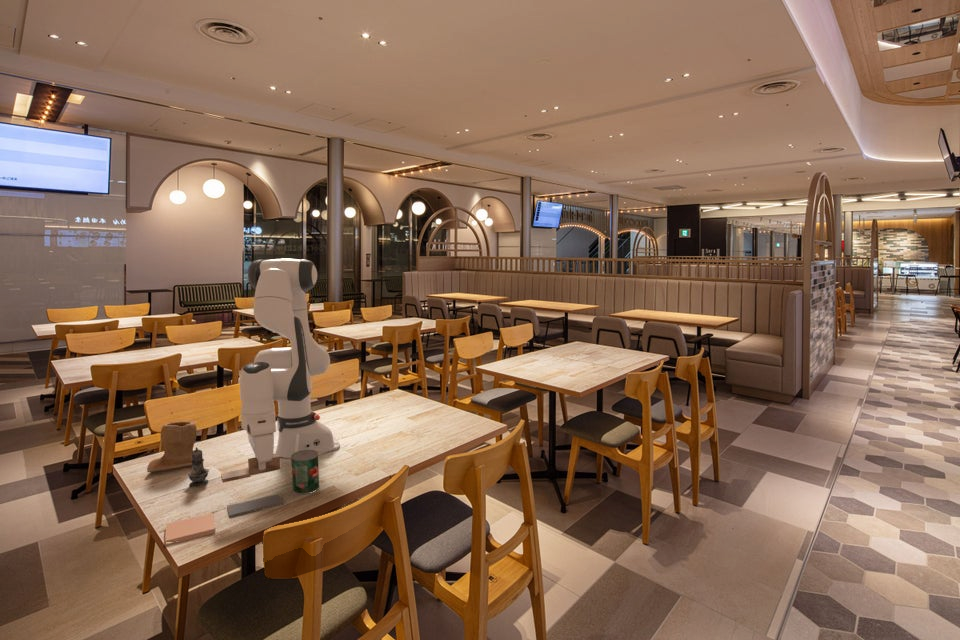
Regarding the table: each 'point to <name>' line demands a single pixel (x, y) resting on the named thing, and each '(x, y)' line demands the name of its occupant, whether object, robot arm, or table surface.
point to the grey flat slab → (254, 505)
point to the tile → (190, 528)
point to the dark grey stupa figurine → (198, 470)
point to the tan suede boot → (175, 446)
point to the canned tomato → (305, 471)
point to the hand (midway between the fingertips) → (260, 466)
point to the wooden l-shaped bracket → (252, 469)
